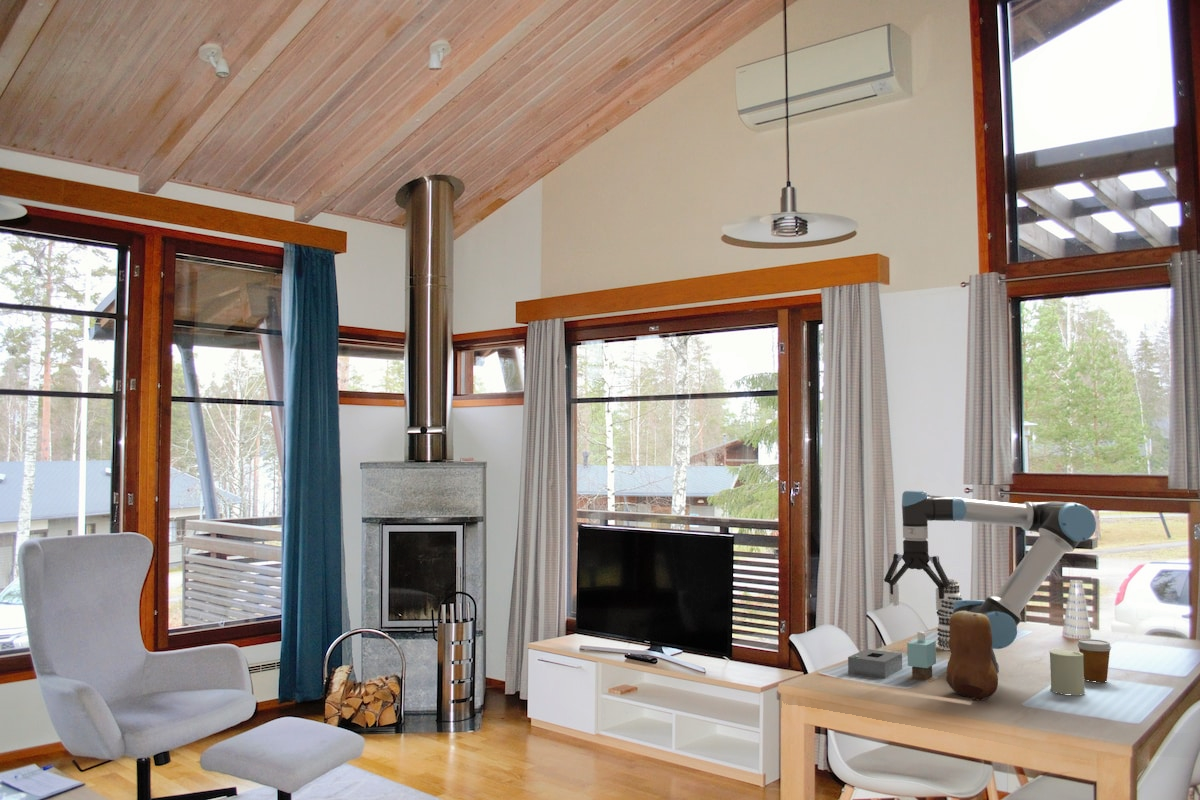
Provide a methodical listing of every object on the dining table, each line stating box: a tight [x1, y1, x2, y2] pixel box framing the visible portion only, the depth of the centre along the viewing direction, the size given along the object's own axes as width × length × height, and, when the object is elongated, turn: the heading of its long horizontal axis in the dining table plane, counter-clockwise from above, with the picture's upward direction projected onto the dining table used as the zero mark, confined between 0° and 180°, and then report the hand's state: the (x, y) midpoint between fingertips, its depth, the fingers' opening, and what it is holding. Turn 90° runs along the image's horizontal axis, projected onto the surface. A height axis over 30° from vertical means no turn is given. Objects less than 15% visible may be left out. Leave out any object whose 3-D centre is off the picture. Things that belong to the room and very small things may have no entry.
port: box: [847, 648, 903, 679], centre depth 297 cm, size 12×16×6 cm
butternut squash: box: [945, 611, 999, 701], centre depth 267 cm, size 14×13×25 cm
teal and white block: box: [906, 631, 937, 668], centre depth 289 cm, size 6×9×14 cm, turn 143°
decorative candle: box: [936, 578, 963, 651], centre depth 338 cm, size 9×9×25 cm
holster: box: [905, 665, 939, 683], centre depth 288 cm, size 8×8×4 cm
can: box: [1049, 649, 1086, 696], centre depth 275 cm, size 9×9×12 cm
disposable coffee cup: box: [1077, 638, 1112, 683], centre depth 289 cm, size 10×10×12 cm
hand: (917, 607), depth 290 cm, fingers open, 13 cm apart
